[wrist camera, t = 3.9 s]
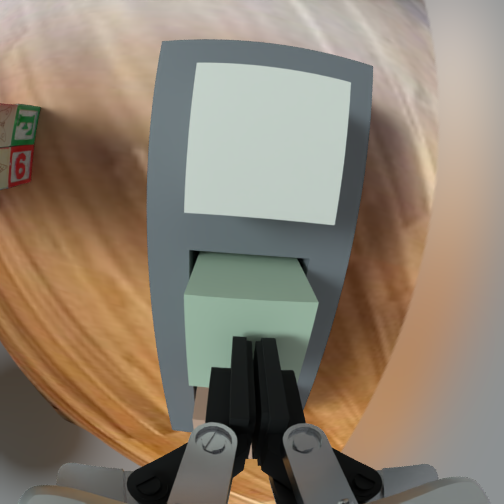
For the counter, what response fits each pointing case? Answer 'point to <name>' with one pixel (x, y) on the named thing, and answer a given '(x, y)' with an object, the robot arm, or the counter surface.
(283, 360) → the key sage
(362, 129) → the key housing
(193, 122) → the key cream
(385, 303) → the counter surface
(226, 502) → the robot arm
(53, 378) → the counter surface
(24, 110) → the stack of blocks
